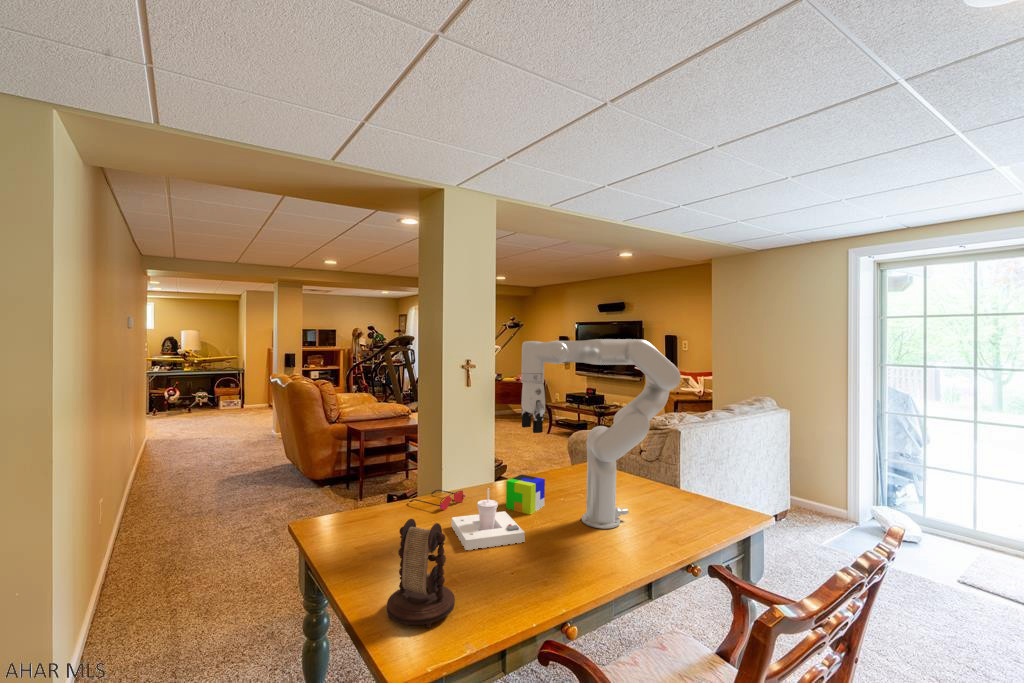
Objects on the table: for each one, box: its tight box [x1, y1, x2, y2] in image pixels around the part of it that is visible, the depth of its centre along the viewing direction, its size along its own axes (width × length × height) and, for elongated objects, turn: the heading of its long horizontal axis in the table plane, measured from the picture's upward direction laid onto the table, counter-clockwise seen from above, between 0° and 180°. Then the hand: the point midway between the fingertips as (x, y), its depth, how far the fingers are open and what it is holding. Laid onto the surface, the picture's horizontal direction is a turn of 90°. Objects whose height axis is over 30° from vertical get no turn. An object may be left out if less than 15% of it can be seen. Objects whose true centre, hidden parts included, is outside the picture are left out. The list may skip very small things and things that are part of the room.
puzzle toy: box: [505, 474, 546, 515], centre depth 172 cm, size 10×10×10 cm
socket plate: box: [451, 510, 526, 551], centre depth 148 cm, size 18×18×4 cm
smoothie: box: [476, 487, 499, 531], centre depth 148 cm, size 6×6×14 cm
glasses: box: [409, 489, 466, 511], centre depth 176 cm, size 14×16×5 cm
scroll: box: [386, 518, 456, 629], centre depth 106 cm, size 15×15×20 cm
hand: (531, 429), depth 159 cm, fingers open, 9 cm apart
